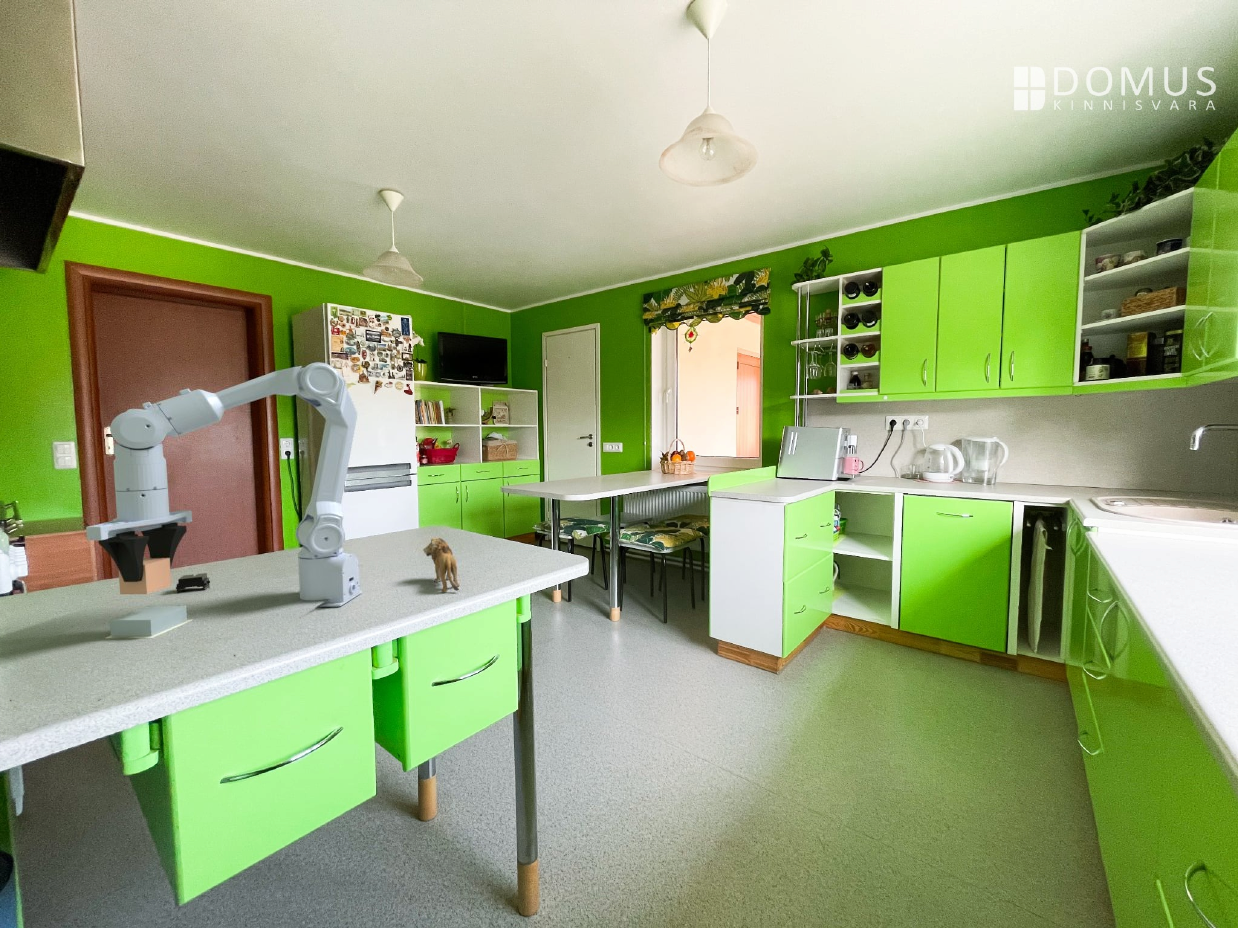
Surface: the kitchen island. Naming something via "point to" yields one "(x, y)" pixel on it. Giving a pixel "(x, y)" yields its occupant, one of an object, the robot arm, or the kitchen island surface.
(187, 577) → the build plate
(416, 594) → the kitchen island surface
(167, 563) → the top block
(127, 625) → the base block
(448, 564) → the lion figurine
